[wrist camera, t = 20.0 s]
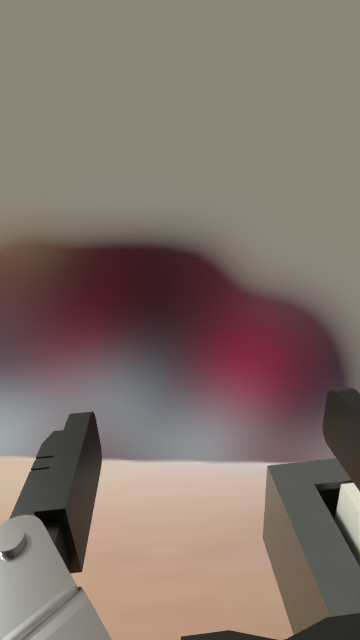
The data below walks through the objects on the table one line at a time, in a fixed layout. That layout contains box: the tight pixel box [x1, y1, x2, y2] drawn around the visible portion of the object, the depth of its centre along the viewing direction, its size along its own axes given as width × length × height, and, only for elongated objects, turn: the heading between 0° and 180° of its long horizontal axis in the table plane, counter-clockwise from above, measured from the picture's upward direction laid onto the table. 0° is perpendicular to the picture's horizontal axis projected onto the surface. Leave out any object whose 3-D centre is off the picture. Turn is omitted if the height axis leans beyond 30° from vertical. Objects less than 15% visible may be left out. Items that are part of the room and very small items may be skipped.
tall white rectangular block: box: [335, 483, 360, 566], centre depth 32 cm, size 4×3×14 cm, turn 5°
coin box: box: [263, 459, 360, 635], centre depth 33 cm, size 14×14×12 cm
